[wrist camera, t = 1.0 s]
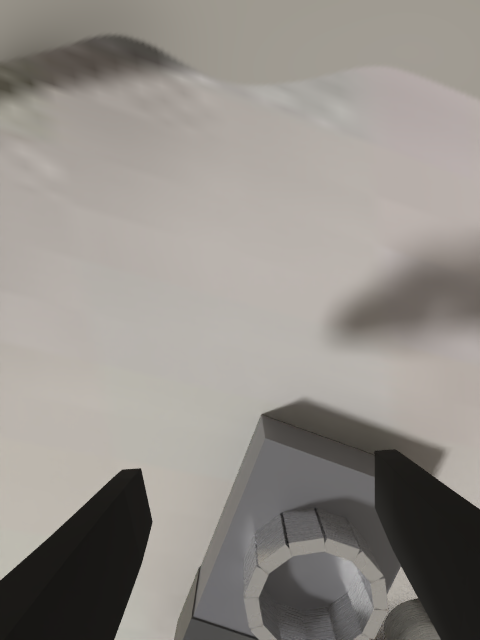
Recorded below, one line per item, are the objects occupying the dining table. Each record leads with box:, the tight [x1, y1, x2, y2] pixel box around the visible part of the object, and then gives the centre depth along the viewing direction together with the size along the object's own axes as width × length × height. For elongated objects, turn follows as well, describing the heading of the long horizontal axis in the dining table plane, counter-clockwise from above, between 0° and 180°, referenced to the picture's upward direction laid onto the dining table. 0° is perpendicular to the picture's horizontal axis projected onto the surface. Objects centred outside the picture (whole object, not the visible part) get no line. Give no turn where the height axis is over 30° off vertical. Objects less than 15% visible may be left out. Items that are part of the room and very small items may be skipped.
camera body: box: [174, 415, 401, 640], centre depth 17 cm, size 18×11×5 cm, turn 160°
